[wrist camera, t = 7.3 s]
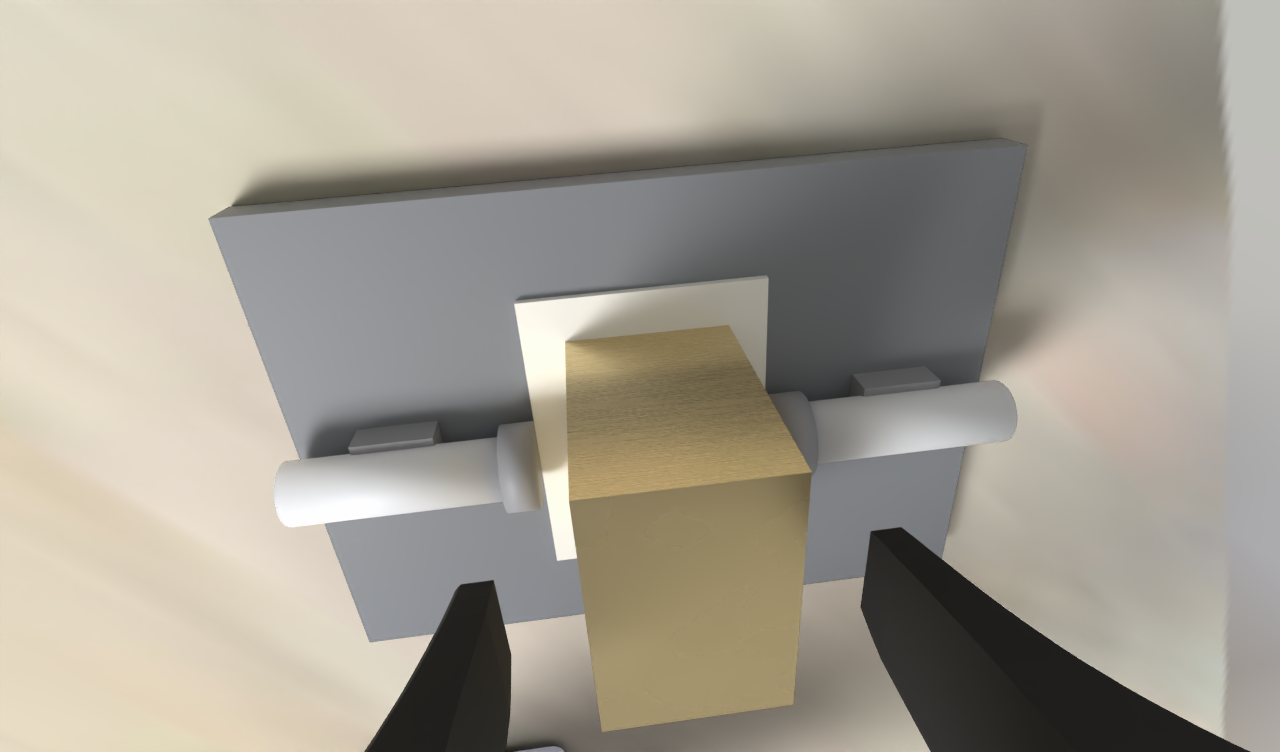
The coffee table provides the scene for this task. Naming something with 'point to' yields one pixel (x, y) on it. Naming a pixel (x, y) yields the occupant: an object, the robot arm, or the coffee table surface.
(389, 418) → the shaft rig
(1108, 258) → the coffee table surface
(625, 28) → the coffee table surface
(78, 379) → the coffee table surface
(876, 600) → the robot arm
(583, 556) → the wooden block
